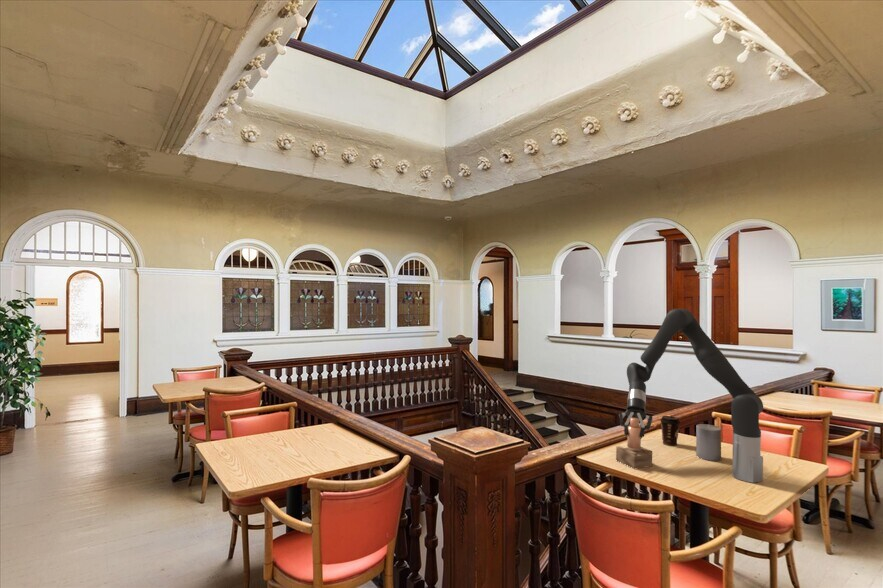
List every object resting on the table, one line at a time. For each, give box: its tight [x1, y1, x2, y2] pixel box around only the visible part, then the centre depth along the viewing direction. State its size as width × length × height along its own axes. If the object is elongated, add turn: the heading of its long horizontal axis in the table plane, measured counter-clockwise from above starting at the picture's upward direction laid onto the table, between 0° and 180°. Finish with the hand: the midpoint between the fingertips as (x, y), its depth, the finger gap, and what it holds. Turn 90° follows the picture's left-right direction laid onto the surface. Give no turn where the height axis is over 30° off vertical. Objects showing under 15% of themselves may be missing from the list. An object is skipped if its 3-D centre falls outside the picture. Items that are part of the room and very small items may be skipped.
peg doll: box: [626, 418, 642, 449], centre depth 196 cm, size 5×5×12 cm
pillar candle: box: [695, 423, 722, 462], centre depth 205 cm, size 10×10×15 cm
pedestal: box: [615, 445, 653, 469], centre depth 196 cm, size 10×10×6 cm
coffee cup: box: [659, 415, 681, 447], centre depth 224 cm, size 9×8×13 cm
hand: (634, 435), depth 194 cm, fingers closed on peg doll, 5 cm apart
